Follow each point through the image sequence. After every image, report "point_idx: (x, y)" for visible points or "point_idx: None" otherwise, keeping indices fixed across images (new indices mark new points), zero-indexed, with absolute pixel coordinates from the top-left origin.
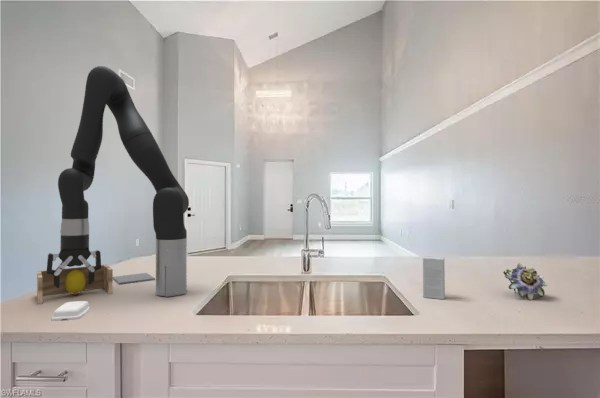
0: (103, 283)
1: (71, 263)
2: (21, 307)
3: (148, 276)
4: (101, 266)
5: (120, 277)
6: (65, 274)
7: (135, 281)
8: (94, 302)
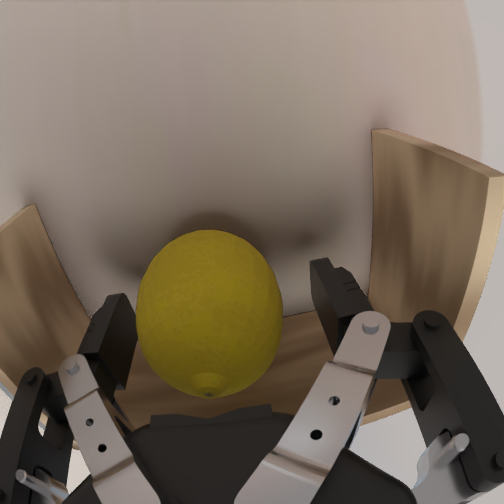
0: None
1: (248, 439)
2: (443, 112)
3: (11, 394)
4: None
5: None
6: (286, 403)
7: None
8: (82, 25)
